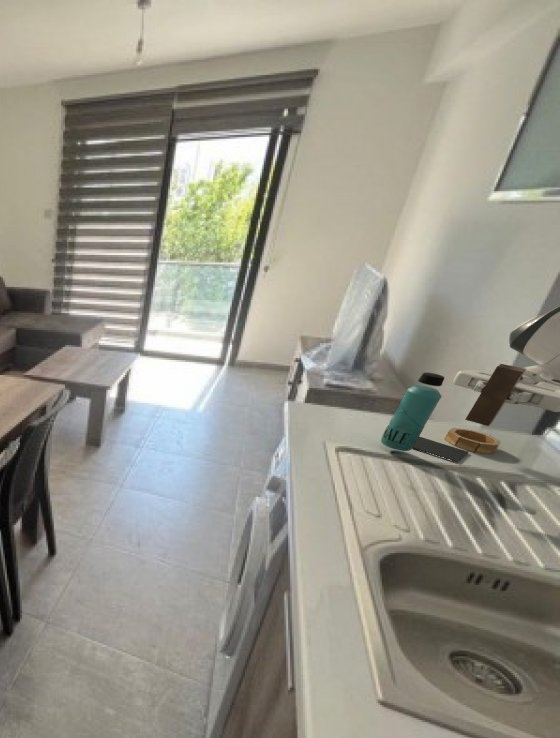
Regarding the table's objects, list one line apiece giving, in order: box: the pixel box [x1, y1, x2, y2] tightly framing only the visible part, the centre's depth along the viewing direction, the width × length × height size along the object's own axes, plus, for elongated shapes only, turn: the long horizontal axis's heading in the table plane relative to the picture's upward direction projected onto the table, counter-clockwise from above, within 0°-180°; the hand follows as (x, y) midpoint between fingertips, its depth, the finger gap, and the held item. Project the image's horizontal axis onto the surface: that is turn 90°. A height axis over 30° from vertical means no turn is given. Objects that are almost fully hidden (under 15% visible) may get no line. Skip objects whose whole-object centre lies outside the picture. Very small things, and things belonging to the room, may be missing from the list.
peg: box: [465, 363, 526, 427], centre depth 117 cm, size 4×4×14 cm
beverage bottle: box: [380, 372, 445, 452], centre depth 114 cm, size 6×7×20 cm
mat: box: [412, 435, 469, 463], centre depth 121 cm, size 10×10×1 cm
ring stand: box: [444, 427, 502, 455], centre depth 124 cm, size 9×9×2 cm
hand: (494, 392), depth 116 cm, fingers closed on peg, 5 cm apart
